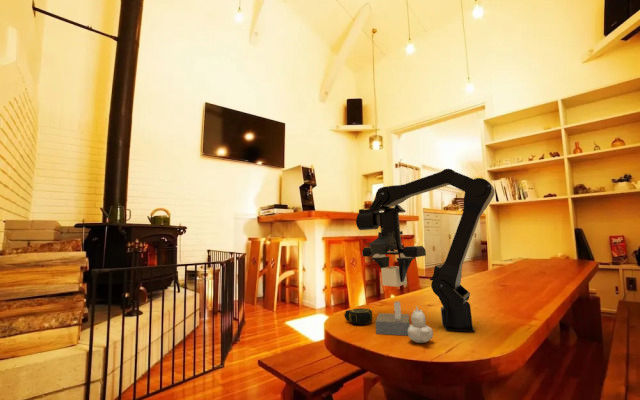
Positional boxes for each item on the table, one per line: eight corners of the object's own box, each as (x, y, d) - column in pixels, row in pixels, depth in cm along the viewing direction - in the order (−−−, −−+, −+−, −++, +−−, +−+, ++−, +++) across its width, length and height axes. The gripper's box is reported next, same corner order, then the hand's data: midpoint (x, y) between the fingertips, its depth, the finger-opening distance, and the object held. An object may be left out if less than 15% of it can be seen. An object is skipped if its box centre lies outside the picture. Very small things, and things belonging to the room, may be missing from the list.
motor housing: (409, 325, 76) (407, 298, 77) (409, 335, 69) (406, 305, 70) (379, 324, 79) (377, 298, 80) (376, 333, 71) (374, 304, 72)
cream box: (392, 282, 87) (391, 264, 88) (406, 283, 84) (405, 265, 85) (382, 285, 84) (381, 266, 84) (396, 286, 80) (395, 267, 81)
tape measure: (364, 318, 85) (363, 306, 86) (377, 324, 79) (376, 310, 80) (344, 322, 83) (343, 309, 83) (356, 328, 77) (355, 314, 77)
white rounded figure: (426, 337, 67) (422, 302, 68) (440, 347, 61) (436, 308, 62) (404, 339, 67) (401, 303, 68) (416, 349, 60) (412, 310, 61)
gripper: (349, 230, 87) (352, 282, 85) (404, 226, 74) (409, 288, 72) (371, 230, 95) (374, 277, 93) (424, 226, 82) (429, 282, 79)
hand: (394, 281), depth 84 cm, fingers closed on cream box, 5 cm apart
